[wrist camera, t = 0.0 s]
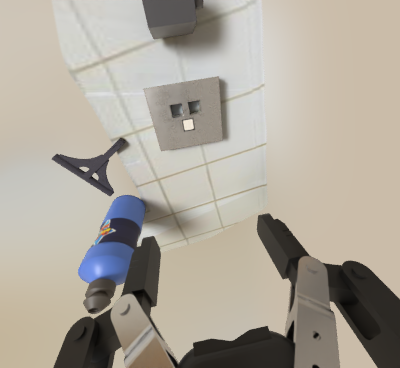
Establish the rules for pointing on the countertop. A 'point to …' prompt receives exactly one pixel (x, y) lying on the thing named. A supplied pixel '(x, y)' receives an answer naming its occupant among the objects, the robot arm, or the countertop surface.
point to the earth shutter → (188, 124)
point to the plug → (171, 17)
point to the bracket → (91, 167)
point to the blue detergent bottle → (112, 252)
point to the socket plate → (186, 113)
